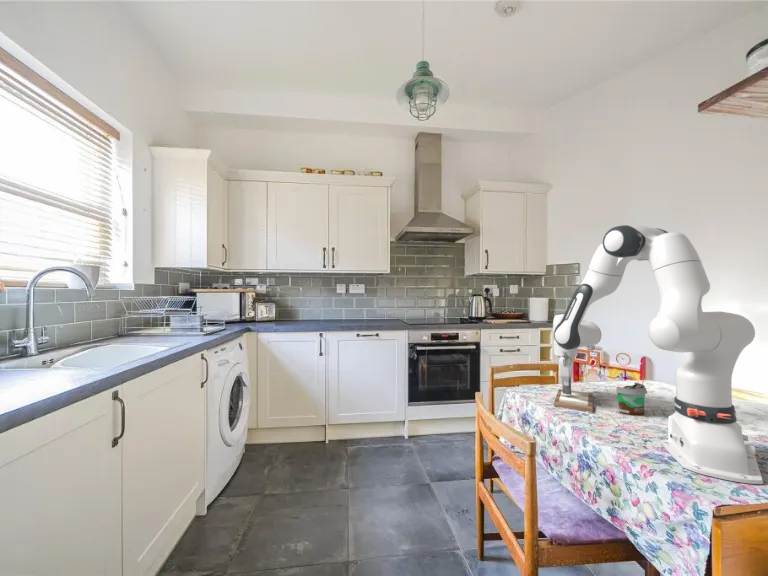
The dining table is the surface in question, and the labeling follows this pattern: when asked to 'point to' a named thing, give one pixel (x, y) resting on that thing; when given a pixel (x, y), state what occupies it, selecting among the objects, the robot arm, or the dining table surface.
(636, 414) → the food container
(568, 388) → the marker
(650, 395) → the dining table surface
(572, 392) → the writing board
